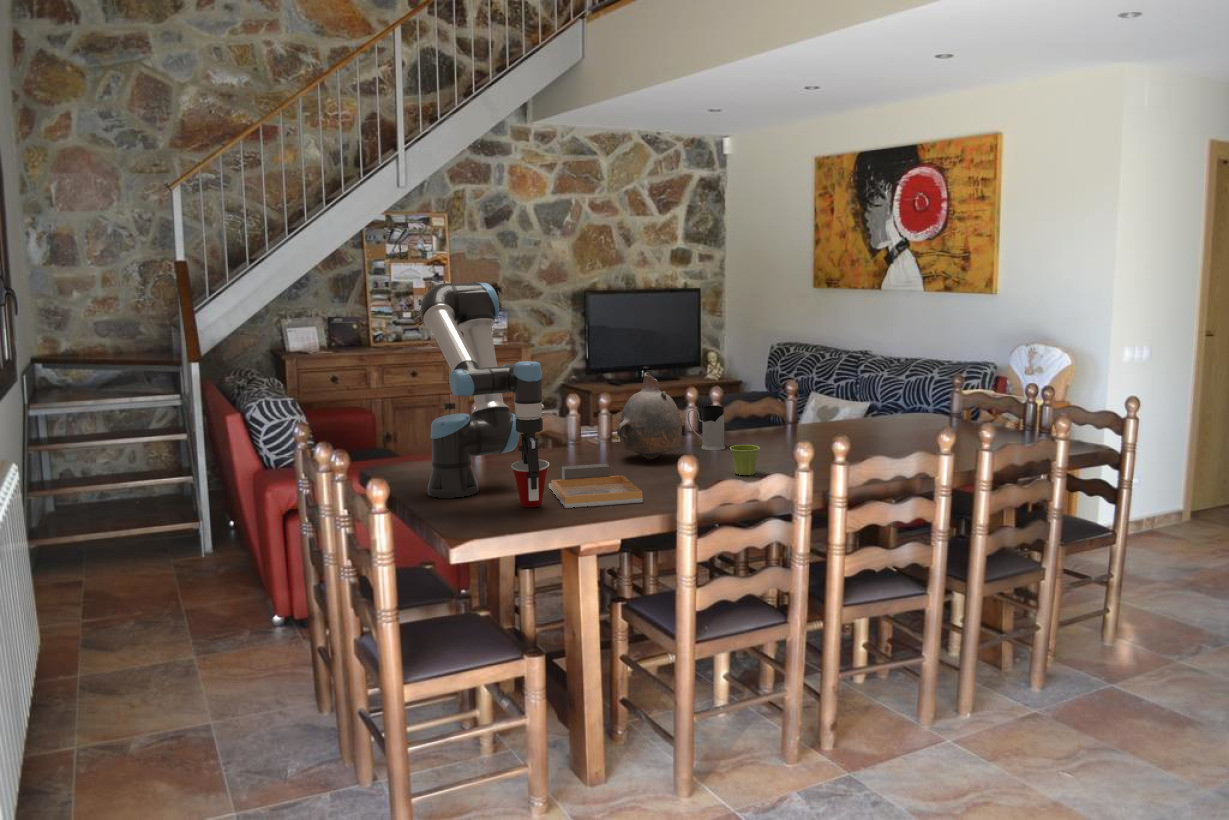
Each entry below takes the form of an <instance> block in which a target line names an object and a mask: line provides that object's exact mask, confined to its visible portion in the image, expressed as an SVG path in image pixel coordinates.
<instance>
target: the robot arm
mask: <svg viewBox="0 0 1229 820" xmlns="http://www.w3.org/2000/svg"><path fill="white" fill-rule="evenodd" d="M499 314H500V303H499V297H498V295H497V292H496V289H494V287H493V286H492V285H491V284H490V283H488V282H477V281H474V282H456V283H453V282H451V283H447V282H445V283H444V282H443V283H440V284H437V285H435V286H433V287H431V288H430V289H429V290H428V291H427V292H426V294H425V295H424V296H423V299H422V300H421V303H420V316H421V320H422V322H423V325H424V326H425V328H427V330H430V331H431V333H432V334H433V337H434V339H435V341H436V343H437V345H438V347H439V349H440V351H441V352H442V355H443V356H444V358H445V360H446V363H447V364H448V366H449V369H450V370H451V372H450V373H449V377H448V378H449V379H448V383H449V384H448V385H449V387H450V391H451V393H452V394H453V396H456V397H473V398H474V406H475V407H474V409H473V410H472V412H471V416H470V414H469V413H465V412H464V413H462V412H461V413H451V414H447V415H443V416H439V417H437V418H435V419H434V420H432V422H431V424H430V434H429V435H430V440H431V441H430V442H431V462H432V463H431V464H432V465H431V466H432V469H431V473H430V477H429V480H428V484H427V496H429V497H431V496H432V497H431V498H435V497H438V498H437V499H455V498H454V497H462V498H465V497H464V496H468V497H471V496H470V495H472V496H474V495H473V494H475V495H477V494H479V492H478V491H479V483H478V480H477V476H476V475H475V472H474V469H473V467H472V466H473V465H472V463H473V462H472V457H480V456H481V457H482V456H488V455H498V454H499V455H502V454H505V453H506V454H507V453H510V452H513V451H514V450H516V447H517V445H518V444H519V440H520V435H521V460H523V462H524V464H528V470H529V475H528V476H527V477H526V478H528V491H529V501H535V500H539V487H538V477H539V476H540V474H539V460H540V459H539V449H538V448H539V441H538V437H536V433H541V432H542V431H543V429H544V426H543V425H544V423H543V417H542V416H543V409H544V408H545V405H544V404H543V390H542V389H543V386H542V385H543V373H542V365H541V364H540V363H541V362H538V361H531V360H528V361H527V360H524V361H523V360H522V361H517V362H516V363H515V364H504V365H502V366H498V362H497V355H496V350H495V343H494V339H493V332H492V328H493V326H494V325H495V323H496V322H495V319H496V320H497V318H498V317H499ZM507 393H508V394H509V393H513V394H514V413H511V409H510V406H508V405H507V404H506V403H504V398H503V394H507ZM532 472H536V473H532ZM476 493H477V494H476Z"/></svg>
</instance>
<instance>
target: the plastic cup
mask: <svg viewBox="0 0 1229 820" xmlns="http://www.w3.org/2000/svg"><path fill="white" fill-rule="evenodd" d="M538 460H539V474H540V476H539V477H538V487H539V500H535V501H529V491H528V478H526V477H527V476H528V475H529V470H528V464H524V462H523V460H522V459H521V460H518V461H515V462H513V463H511V465H510V468H511V469H512V471H513V475H514V478H515V482H516V487H517V493H518V497H519V502H520V504H521V506H522V507H525V508H535V507H540V506H542V503H543V497H544V493H545V486H546V477H547V472H548V468H549V467H550V462H549V461H547V460H544V459H538ZM532 473H536V472H532Z"/></svg>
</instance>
